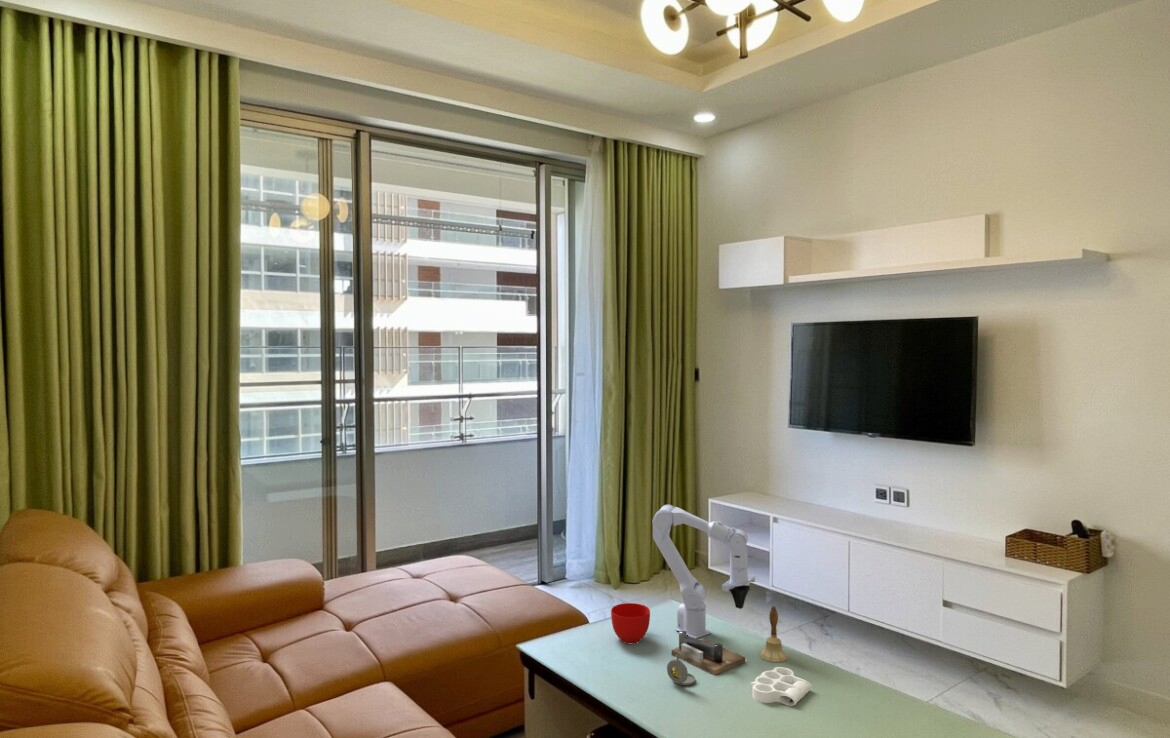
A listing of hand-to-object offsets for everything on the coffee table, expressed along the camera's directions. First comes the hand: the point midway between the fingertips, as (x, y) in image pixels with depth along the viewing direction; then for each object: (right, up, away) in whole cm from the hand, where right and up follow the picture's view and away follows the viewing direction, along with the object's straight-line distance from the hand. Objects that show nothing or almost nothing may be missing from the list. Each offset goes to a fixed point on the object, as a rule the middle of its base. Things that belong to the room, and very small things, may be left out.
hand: (739, 607), depth 236 cm
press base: (-13, -11, -14) cm, 22 cm away
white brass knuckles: (+3, -12, -35) cm, 37 cm away
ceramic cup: (-35, -11, +1) cm, 37 cm away
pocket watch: (-23, -12, -30) cm, 40 cm away
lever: (-16, -9, -16) cm, 24 cm away
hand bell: (+8, -11, -13) cm, 19 cm away
